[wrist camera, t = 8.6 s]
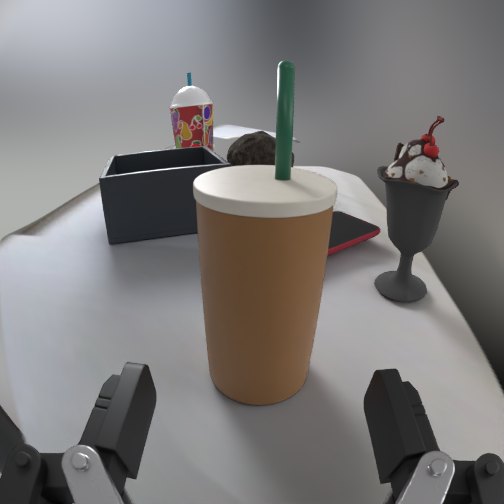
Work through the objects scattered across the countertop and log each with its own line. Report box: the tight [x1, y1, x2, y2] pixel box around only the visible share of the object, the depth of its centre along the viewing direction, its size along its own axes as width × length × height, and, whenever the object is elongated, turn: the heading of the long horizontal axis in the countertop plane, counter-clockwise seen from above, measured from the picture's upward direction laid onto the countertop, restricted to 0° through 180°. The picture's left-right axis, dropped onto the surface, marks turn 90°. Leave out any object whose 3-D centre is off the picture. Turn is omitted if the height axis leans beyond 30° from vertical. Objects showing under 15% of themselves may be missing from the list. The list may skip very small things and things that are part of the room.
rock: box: [227, 131, 294, 167], centre depth 52 cm, size 10×11×10 cm
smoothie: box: [170, 73, 213, 151], centre depth 58 cm, size 8×8×20 cm
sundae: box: [375, 116, 459, 302], centre depth 23 cm, size 7×7×15 cm
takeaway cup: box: [193, 60, 337, 405], centre depth 15 cm, size 6×6×17 cm
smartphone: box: [327, 211, 380, 256], centre depth 34 cm, size 7×1×15 cm
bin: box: [99, 146, 231, 244], centre depth 40 cm, size 14×14×8 cm
